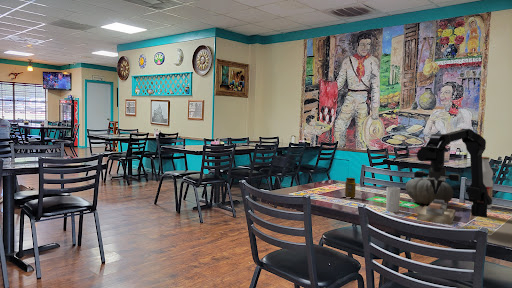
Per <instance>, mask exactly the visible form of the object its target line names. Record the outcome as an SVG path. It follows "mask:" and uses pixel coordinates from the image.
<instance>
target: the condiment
mask: <svg viewBox="0 0 512 288" xmlns="http://www.w3.org/2000/svg"><path fill="white" fill-rule="evenodd" d="M356 188H357V187H356V178H354V177H346V180H345V186H344V196H346V197H351V198H354V197H356Z"/></svg>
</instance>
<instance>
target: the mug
mask: <svg viewBox="0 0 512 288" xmlns="http://www.w3.org/2000/svg"><path fill="white" fill-rule="evenodd" d="M385 199H386V202H385V211H386V212H391V213H398V212H400V203H401V201H400V200H401V187H397V186H386V195H385Z"/></svg>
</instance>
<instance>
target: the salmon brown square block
mask: <svg viewBox="0 0 512 288" xmlns="http://www.w3.org/2000/svg"><path fill="white" fill-rule="evenodd" d="M429 208H434V209H441V204H435V203H431V204H430V205H429Z"/></svg>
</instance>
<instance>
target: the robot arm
mask: <svg viewBox="0 0 512 288" xmlns="http://www.w3.org/2000/svg"><path fill="white" fill-rule="evenodd" d="M459 140H461V141H462V143H464V144H465V150H466V151H467V153H468V154H469V156H470V177H471V178H470V179H471V183H470V185H469V186H467V188H466V190H467V192H466V193H467V196H468V201H469V203H470V202H471V203H472V202H473V205H472V204H471V205H470V206H471V207H470V214H471V216H475V217H482V218H487V217H488V208H487V205H491V204H492V205H493V198H492V199H491V198H490V196H489V195H488V191H487V188H486V186H485V185H484V183H483V167H482V157H483V154H484V152H485V150H486V147H487V145H486V144H487V141H486V138H484V137H483V136H482V135H481V134H479V133H476V132H475V131H474V130H473V129H472V128H461V129H458V130H455V131H451V132H446V133H432V134H430V137H429V138H428V140H427V141H426V143H425V145H424V146H420V149H418V150H417V153H416V158H417V160H418V161H419V162H430V164H429V165H430V166H429V169H428V172H426V171H424V170H416V171H415V172H414V173H413V174H414V175H413V177H414V178H428V179H427V180H429V181H430V182H431V184H432V187H433V190H434V194H437V192H438V190H439V188H440V186H441V184H442V182H445V183H446V180H450V182H460V180H461V175H460V174H458V173H449V174H447V168H446V167H445V156H446V153H445V152H449V149H448V148H447V146H449V145H451V143H452V142H455V141H459ZM436 179H437V180H436ZM436 181H437V187H436Z"/></svg>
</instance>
